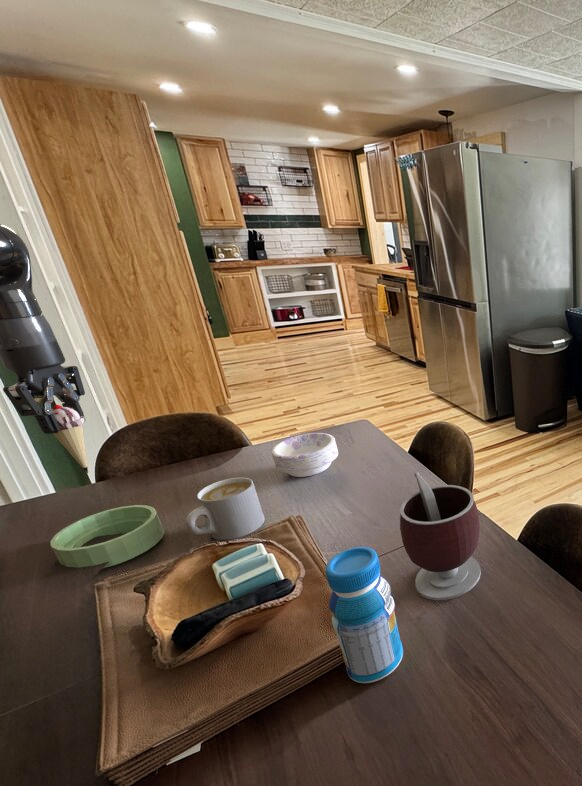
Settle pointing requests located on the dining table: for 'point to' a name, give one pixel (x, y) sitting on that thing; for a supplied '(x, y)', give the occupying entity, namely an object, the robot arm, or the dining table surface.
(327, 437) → the paper bowls
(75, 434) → the ice cream cone
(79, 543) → the green ring
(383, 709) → the dining table surface
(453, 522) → the mate gourd
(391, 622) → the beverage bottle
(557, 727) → the dining table surface
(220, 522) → the coffee mug
